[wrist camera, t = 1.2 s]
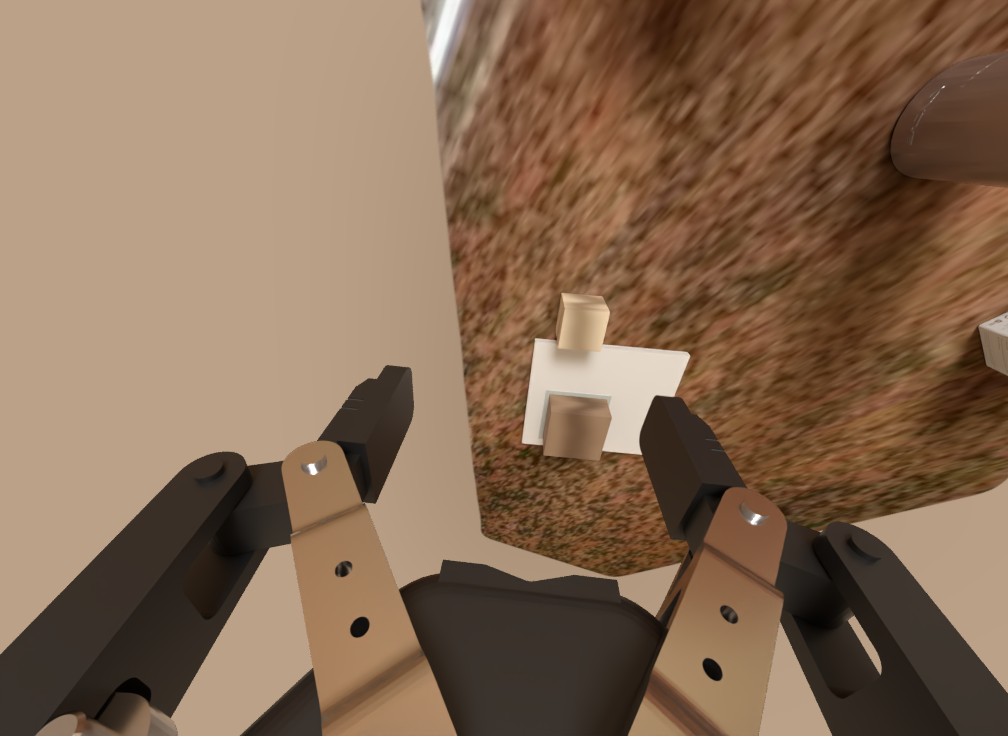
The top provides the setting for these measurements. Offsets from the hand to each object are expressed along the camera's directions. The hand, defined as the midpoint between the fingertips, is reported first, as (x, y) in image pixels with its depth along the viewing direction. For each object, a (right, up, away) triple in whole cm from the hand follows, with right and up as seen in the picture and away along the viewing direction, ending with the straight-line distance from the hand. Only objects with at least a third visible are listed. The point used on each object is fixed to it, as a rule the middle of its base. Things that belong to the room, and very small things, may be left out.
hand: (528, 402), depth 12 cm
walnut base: (+9, -6, +41) cm, 42 cm away
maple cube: (+9, +8, +33) cm, 35 cm away
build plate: (+13, -3, +40) cm, 42 cm away
